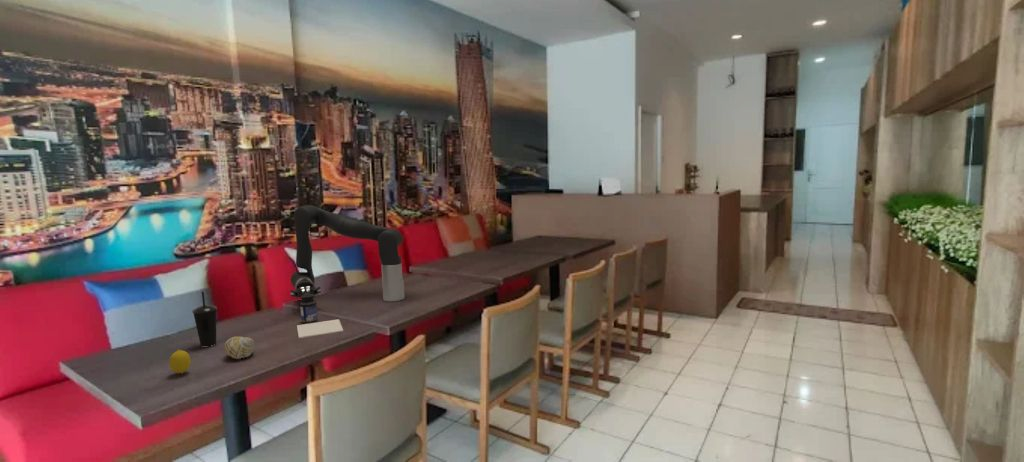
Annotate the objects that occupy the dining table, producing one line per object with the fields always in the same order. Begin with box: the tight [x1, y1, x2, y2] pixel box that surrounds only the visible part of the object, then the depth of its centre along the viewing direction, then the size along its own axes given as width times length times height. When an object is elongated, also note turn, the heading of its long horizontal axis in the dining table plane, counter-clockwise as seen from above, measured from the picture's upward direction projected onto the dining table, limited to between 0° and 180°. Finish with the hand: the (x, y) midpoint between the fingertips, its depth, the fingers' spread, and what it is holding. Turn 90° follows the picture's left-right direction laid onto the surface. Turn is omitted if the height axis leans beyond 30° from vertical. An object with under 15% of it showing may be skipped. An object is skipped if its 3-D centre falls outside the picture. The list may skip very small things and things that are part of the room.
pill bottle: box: [299, 294, 319, 324], centre depth 208 cm, size 6×6×11 cm
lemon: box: [169, 349, 192, 374], centre depth 159 cm, size 6×6×8 cm
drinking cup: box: [191, 291, 218, 347], centre depth 183 cm, size 8×8×20 cm
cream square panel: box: [296, 318, 344, 339], centre depth 199 cm, size 16×15×1 cm
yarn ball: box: [224, 335, 255, 360], centre depth 173 cm, size 10×10×10 cm
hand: (306, 296), depth 213 cm, fingers closed
